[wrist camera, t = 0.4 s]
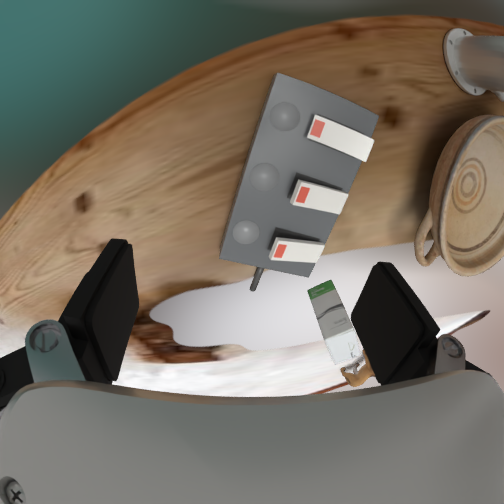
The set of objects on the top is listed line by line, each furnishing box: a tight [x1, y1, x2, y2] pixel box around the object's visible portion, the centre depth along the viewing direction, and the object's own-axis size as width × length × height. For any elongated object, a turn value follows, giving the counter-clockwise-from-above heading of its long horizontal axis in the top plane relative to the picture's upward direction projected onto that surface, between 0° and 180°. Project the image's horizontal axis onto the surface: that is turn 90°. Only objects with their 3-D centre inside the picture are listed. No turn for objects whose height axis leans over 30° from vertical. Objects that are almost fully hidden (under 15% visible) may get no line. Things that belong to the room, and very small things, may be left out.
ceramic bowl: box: [414, 114, 504, 276], centre depth 32 cm, size 37×29×10 cm
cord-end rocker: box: [269, 237, 325, 263], centre depth 37 cm, size 8×3×1 cm, turn 73°
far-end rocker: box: [307, 115, 374, 162], centre depth 29 cm, size 8×3×1 cm, turn 73°
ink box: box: [308, 280, 360, 365], centre depth 43 cm, size 9×5×12 cm, turn 25°
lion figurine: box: [341, 350, 375, 387], centre depth 57 cm, size 15×5×9 cm, turn 157°
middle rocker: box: [290, 179, 349, 214], centre depth 33 cm, size 8×3×1 cm, turn 73°
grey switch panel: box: [219, 73, 379, 291], centre depth 36 cm, size 14×32×3 cm, turn 163°
